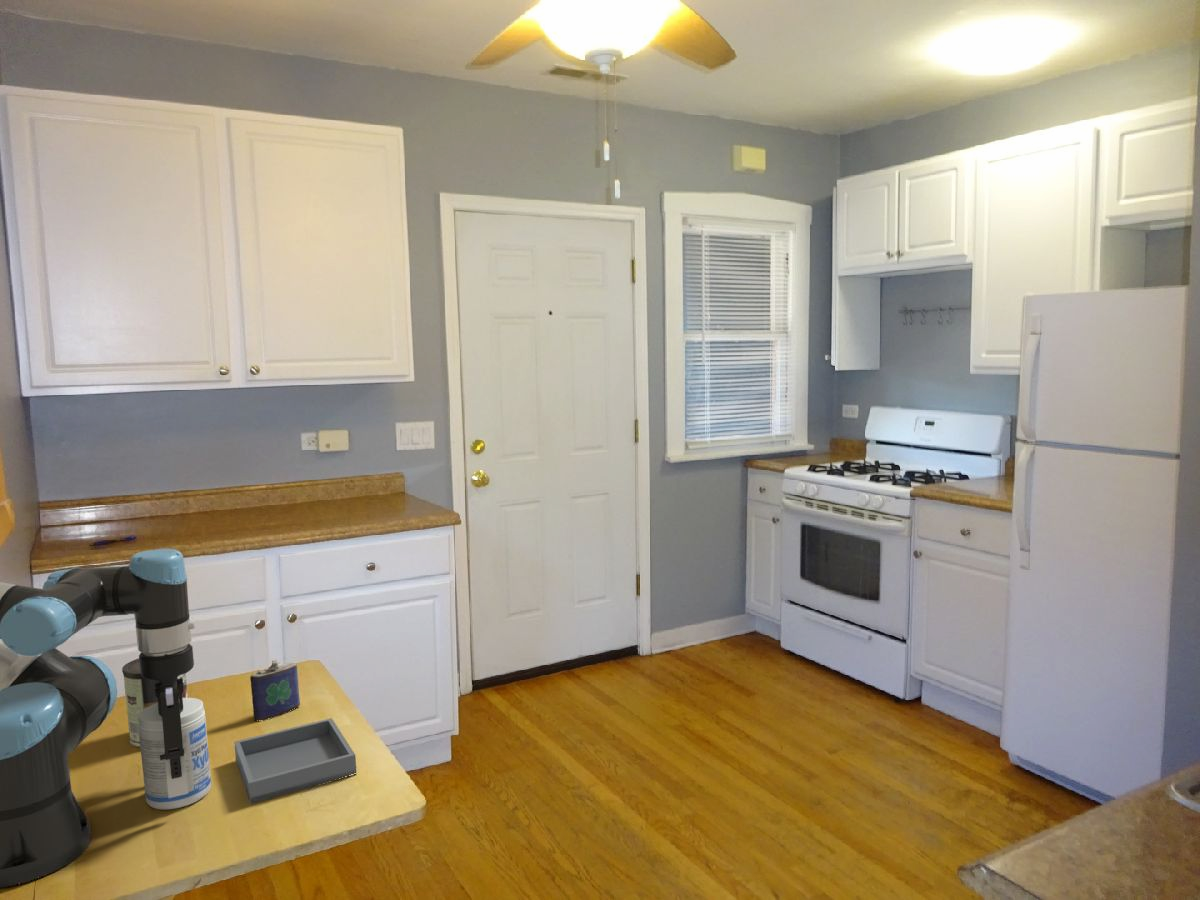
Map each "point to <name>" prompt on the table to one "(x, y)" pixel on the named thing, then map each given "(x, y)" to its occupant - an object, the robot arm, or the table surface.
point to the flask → (275, 690)
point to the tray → (293, 759)
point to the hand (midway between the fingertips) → (177, 775)
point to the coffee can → (140, 696)
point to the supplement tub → (192, 745)
